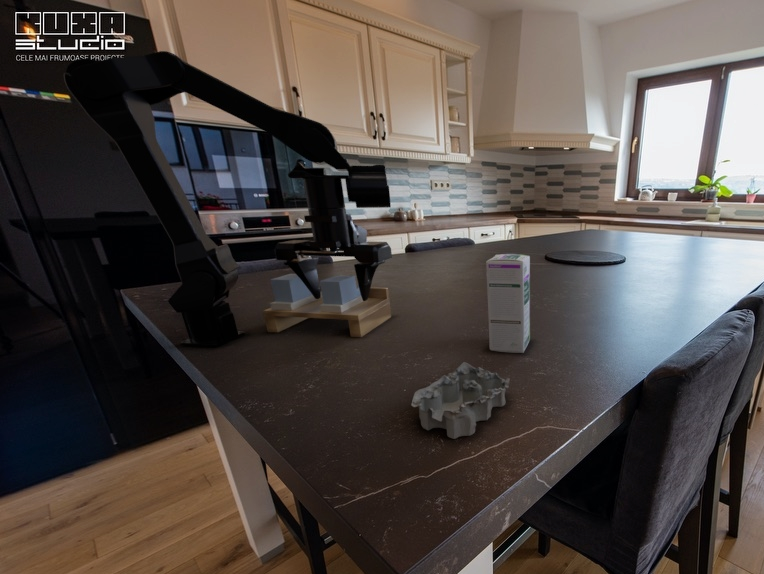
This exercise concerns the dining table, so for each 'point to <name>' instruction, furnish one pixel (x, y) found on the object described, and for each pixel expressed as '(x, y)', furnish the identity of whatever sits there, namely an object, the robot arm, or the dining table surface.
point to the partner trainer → (290, 293)
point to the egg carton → (460, 400)
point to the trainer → (339, 294)
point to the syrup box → (508, 302)
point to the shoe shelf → (336, 314)
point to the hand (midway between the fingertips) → (341, 299)
